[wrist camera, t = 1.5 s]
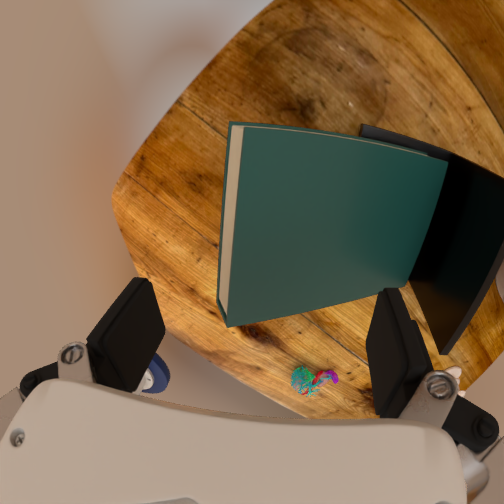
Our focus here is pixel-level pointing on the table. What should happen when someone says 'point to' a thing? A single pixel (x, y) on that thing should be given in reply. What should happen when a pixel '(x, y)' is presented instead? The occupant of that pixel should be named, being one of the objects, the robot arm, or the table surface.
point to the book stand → (455, 241)
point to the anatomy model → (302, 378)
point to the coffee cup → (500, 280)
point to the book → (317, 219)
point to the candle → (456, 376)
